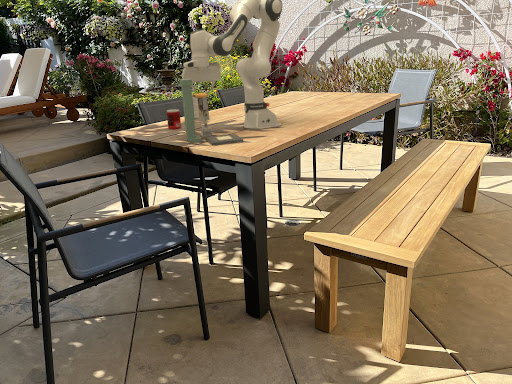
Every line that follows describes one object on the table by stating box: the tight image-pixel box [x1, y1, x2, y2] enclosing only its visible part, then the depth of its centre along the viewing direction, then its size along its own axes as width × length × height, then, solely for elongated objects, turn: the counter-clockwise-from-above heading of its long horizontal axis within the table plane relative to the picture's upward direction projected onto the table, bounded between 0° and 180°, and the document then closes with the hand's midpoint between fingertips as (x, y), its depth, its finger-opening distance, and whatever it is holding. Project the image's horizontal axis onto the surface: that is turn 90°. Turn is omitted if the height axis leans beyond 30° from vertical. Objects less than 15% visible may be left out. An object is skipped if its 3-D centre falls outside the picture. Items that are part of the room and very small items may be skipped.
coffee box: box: [192, 95, 210, 122], centre depth 271 cm, size 9×6×16 cm
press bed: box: [205, 133, 244, 146], centre depth 208 cm, size 16×14×2 cm
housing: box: [200, 122, 213, 138], centre depth 222 cm, size 5×5×7 cm
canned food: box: [166, 108, 182, 131], centre depth 246 cm, size 8×8×11 cm
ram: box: [192, 92, 208, 118], centre depth 207 cm, size 8×6×12 cm
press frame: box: [179, 78, 202, 144], centre depth 206 cm, size 7×8×31 cm
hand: (203, 90), depth 216 cm, fingers open, 8 cm apart
